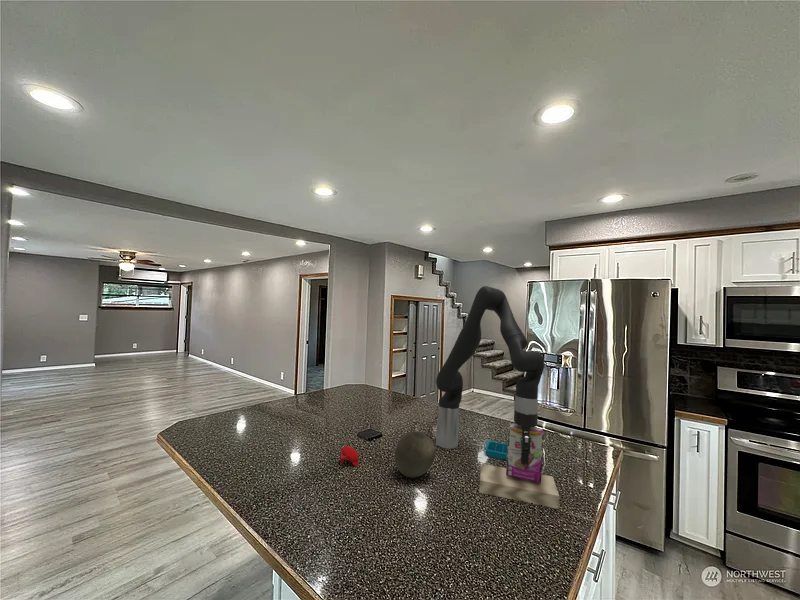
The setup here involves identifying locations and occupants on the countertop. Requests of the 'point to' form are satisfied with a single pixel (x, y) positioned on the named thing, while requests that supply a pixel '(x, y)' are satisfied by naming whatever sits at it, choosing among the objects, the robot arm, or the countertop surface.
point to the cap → (349, 455)
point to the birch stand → (518, 487)
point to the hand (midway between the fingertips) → (523, 460)
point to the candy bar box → (514, 454)
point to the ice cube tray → (496, 450)
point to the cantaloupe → (414, 454)
